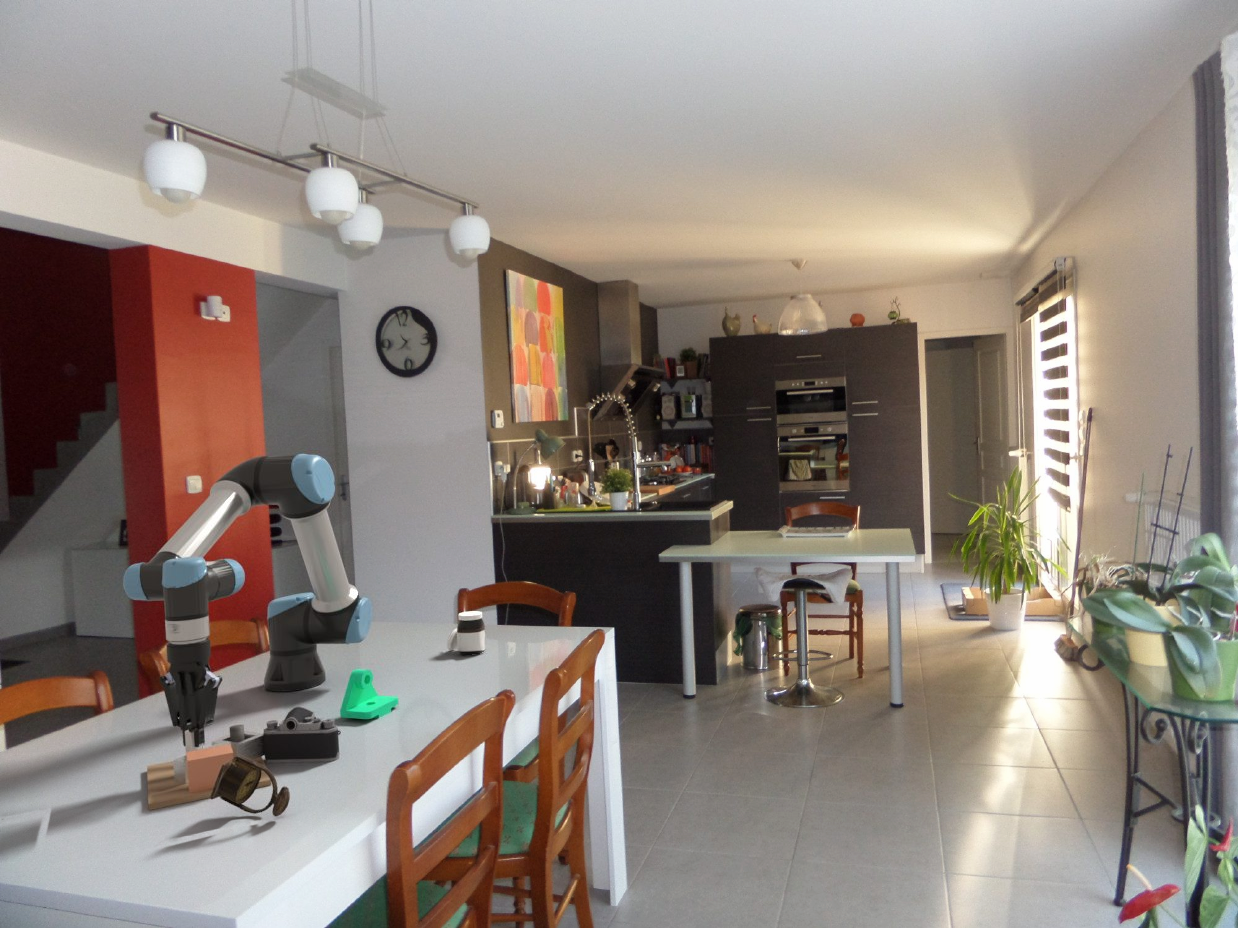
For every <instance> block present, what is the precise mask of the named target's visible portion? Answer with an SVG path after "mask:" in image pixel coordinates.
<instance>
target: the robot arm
mask: <svg viewBox="0 0 1238 928" xmlns="http://www.w3.org/2000/svg"><path fill="white" fill-rule="evenodd" d="M335 480H336V479H335V474H334V471H333V469H332V468H331V465H330V463H329V462H328V461H327V460H326V459H325V458H324V457H323V456H320V455H317V454H306V453H299V454H290V455H289V454H288V455H287V454H286V455H283V454H282V455H262V456H255V457H252V458H249V459H247V460H245V461H243V462H240V463H239V464H236V466H234V467H231V469H229V470H228V471H227V472H225V474H223V475H222V476H221V477H219V479H218V480H217V481H216V482H215V483H213V485H212V486H211V487H210V491H209V496H208V497H207V498H206V499H205V500H204V502H202V503H201V504H200V506H199V507H198V508H197V509H196V510H195V511H194V512H193V513H192V515H190V517H189V518H188V519H187V520H186V521H185V522H184V523H182V524H183V525H181V526H180V528H179V529H178V530H177V531H176V532H175V533H174V534H173V535H172V536H171V538H170V539H169V540H168V541H167V542H166V543H165V544H164V545H163V546H162V547H161V548H160V549H159V550H158V552H157V553H156V554H155V555H154V556H153V557H152V558H151V559H150V560H149V562H144V561H142V562H139V563H134V564H132V565H130V566H129V567H127V568H126V570H125V572H124V574H123V579H122V585H123V586H122V587H123V590H124V592H125V594H126V596H127V597H128V598H129V599H131V600H135V601H147V602H152V601H153V602H154V601H163V602H164V603H163V604H164V614H165V615H164V623H165V624H164V626H165V640H166V641H168V643H166V644H165V645H166V661H167V663H168V664H170V666H169V668H168V672H167V673H165V675H161V676H159V678H158V682H159V683H160V685H161V687H162V688H163V692H164V696H165V699H166V704H167V708H168V712H169V715H170V719H171V723H172V726H174V727H178V728H180V730H181V731H182V744H183V746H184V747H185V753H186V752H189V751H195V750H200V749H204V748H203V746H204V745H205V742H206V740H205V739H206V738H205V729H206V727H208V726H211V725H213V724H214V720H215V713H216V706H217V701H218V694H219V693H218V692H219V688H220V686H221V684H222V681H223V677H222V676H221V675H218V676H216V675H215V674H214V673H213V672H212V669H211V666H210V663H209V660H210V658H211V656H212V650H211V639H210V638H209V636H210V635H211V631H210V630H211V629H210V616H209V602H214V601H217V600H219V599H223V598H225V599H226V598H229V597H230V596H231V595H234V594H236V593H238V592H239V591H240V590H241V589H242V588H243V586H244V583H245V580H246V578H245V577H246V574H245V570H244V568H243V566H242V565H241V564H240V563H239V562H238V561H237V560H235V559H233V558H224V559H223V558H220V559H219V558H218V559H216V560H213V561H206V560H205V558H204V557H205V556H206V555H207V553H208V552H209V551H210V550H211V549H212V548H213V546H214V545H215V544H216V542H218V540H219V539H220V538H221V537H222V536H223V534H225V532H226V530H228V529H229V527H230V526H231V525H232V524H233V523H234V521H235V520H236V519H237V518H238V517H240V516H243V515H245V514H247V513H248V512H249V511H250V509H252V508H254V507H258V506H264V505H265V506H269V505H270V506H272V505H273V506H275V505H276V506H278V507H279V510H280V513H281V516H282V517H283V518H285V519H287V520H289V521H290V522H291V523H290V524H291V526H292V529H293V531H294V532H293V533H294V536H295V538H296V541H297V544H298V547H299V549H300V553H301V557H302V559H303V560H302V561H304V566H305V569H306V571H307V575H308V577H309V581H310V585H311V586H312V590H313V592H314V593H313V592H301V593H296V594H291V595H287V596H281V597H279V598H275V599H273V600H271V601H270V602H268V606H267V616H266V620H267V627H268V643H269V644H268V645H269V646H268V647H269V659H268V664H267V667H266V671H265V674H264V680H263V682H264V683H263V684H264V689H265V690H267V691H271V692H293V691H297V690H298V691H301V690H306V689H309V688H313V687H317V686H319V685H321V684H323V683H325V682H326V679H327V678H326V670H325V668H324V666H323V662H322V660H321V658H320V656H319V655H320V654H319V653H318V647H317V645H341V644H342V645H350V644H359V643H362V642H363V641H364V640H365V639H366V638H367V636H368V635H369V632H370V629H371V625H372V619H373V607H372V602H371V600H370V599H369V598H367V597H365V596H363V597H360V594H359V591H358V589H357V587H356V586H355V585H353V584H351V583H349V579H348V576H347V572H346V568H345V567H344V563H343V560H342V556H341V553H340V550H339V547H338V546H339V545H338V543H337V540H336V536H335V533H334V530H333V526H332V523H331V519H330V517H329V513H328V508H329V507H330V506H331V505H330V504H331V500H332V499H333V498H334V495H335V491H336V485H335V482H336V481H335Z"/></svg>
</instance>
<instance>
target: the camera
mask: <svg viewBox="0 0 1238 928" xmlns="http://www.w3.org/2000/svg"><path fill="white" fill-rule="evenodd" d="M262 734H263V737H264V760H265V761H264V762H265V763H267V764H268V763H269V764H270V763H271V764H272V763H313V762H315V763H323V762H325V763H326V762H334V761H337V760H339V758H340V744H339V743H340V740H339V735H341V734H342V731H341V730H339V727H338V725H336V724H335V720H334V718H328V719H325V718H318V717H317V716H315V712H314V711H312V710H311V709H308V708H306V707H304V706H301V705H298V706H294V707H292V709H290V711H289V712H287V714H286V716H285V718H284V719H283V720H282V721H280V722H278V720H276V719H274V720H268V721H267V722H266V727H265V728H263V733H262Z"/></svg>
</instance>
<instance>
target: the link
mask: <svg viewBox="0 0 1238 928" xmlns="http://www.w3.org/2000/svg"><path fill="white" fill-rule="evenodd" d="M228 744H231V747H232V750H233V758H235V757H236V756H238V755H242V756H244V757H247V758H249V759H251V760H254V759H257V758H259V757H261V756H262V757H263V756H264V757H265V755H264V737H263V733H261V732H254V731H246V730H244V740H243V741H241V742H238V743H237V742H230V734H228V735H225V736H222V737H219V738H217V739H214V740H212V741H211V745H209V746H207V747H204V748H203V749H206V748H211V747H217V746H222V745H228ZM172 761H173V763H174V779H175V782H179V783H184V784H186V783H189V781H188V765H187V758H186V755H183V756H181V757H179V758H178V757H177V758H176V759H173V760H172Z"/></svg>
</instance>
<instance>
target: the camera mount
mask: <svg viewBox="0 0 1238 928" xmlns="http://www.w3.org/2000/svg"><path fill="white" fill-rule="evenodd" d="M373 683H374V674H373V672H372V670H370V669H363V668H361V669H360V668H359V669H358V668H357V669H353V670H352V672H351V673H350V675H349V679H348V683H347V686H346V689H345V693H344V695H343V699H342V702H341V705H340V710H339V714H340V718H347V719H361V720H370V719H381V718H383V717H384V715H385V716H386V715H387V714H391V712H392V708H394V707H396V706H398V705H399V697H398V696H393V695H392V696H389V695H378V693H377V691H376V690H375V687H374V685H373ZM380 717H381V718H380Z"/></svg>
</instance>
